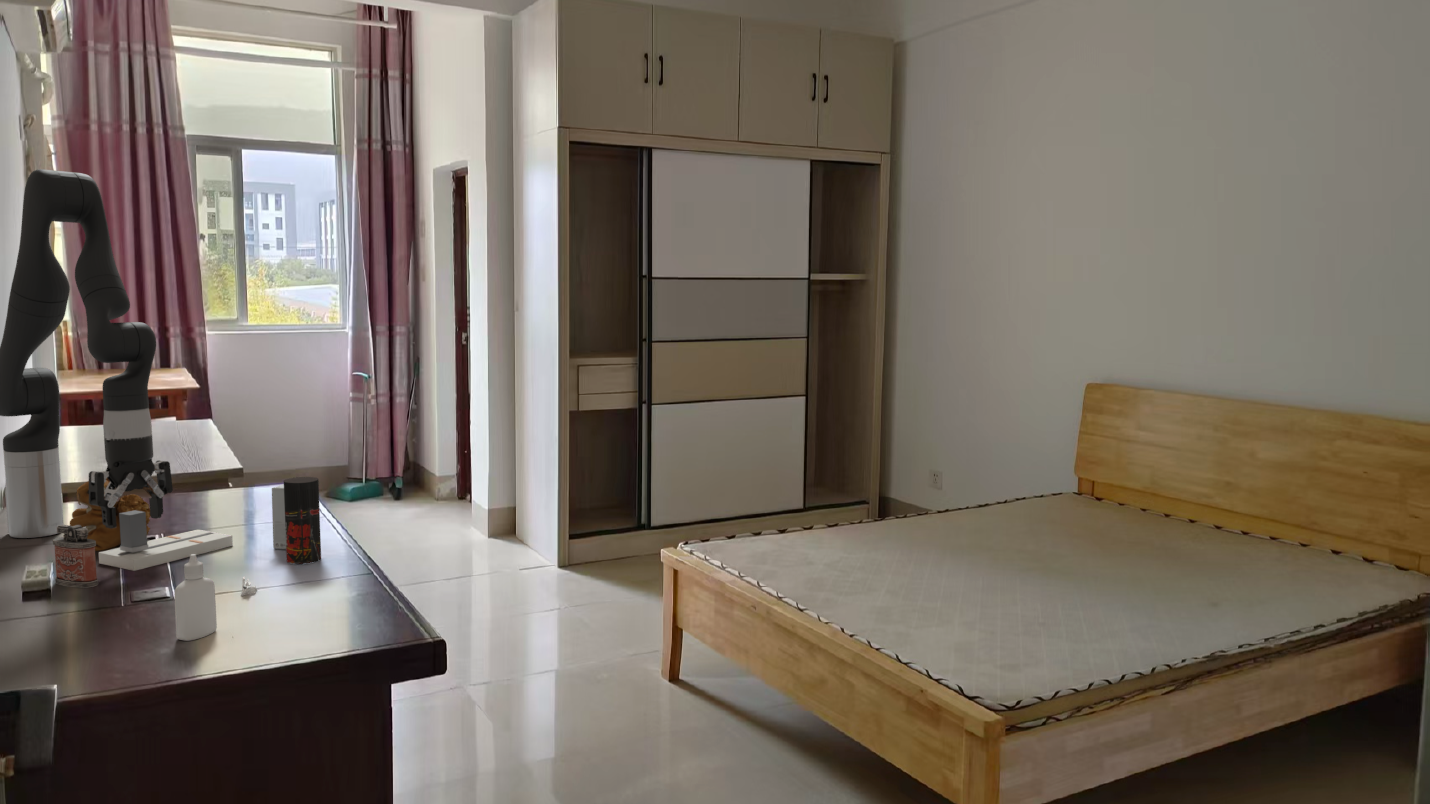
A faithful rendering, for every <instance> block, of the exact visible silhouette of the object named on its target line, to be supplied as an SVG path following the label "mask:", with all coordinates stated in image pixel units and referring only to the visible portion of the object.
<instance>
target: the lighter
mask: <svg viewBox="0 0 1430 804" xmlns="http://www.w3.org/2000/svg"><path fill="white" fill-rule="evenodd" d="M57 534H63V536H61V537H57V538H54V539H52V545H54V558H55V571H56V572H55V573H56V577H55V578H54V579H55V580H54V582H55V584H57V585H60V586H64V587H71V588H82V589H84V588H91V587H92V588H93V587H96V586H98V585H99V578H97V562H96V560H97V559H96V551H95V546H96V541H95V540H91V539H87V537H88V529H87V528H86V527H83V528H82V526H81V525H75V526H70V524H68V525H67V524H64V525H58V527H57Z"/></svg>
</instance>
